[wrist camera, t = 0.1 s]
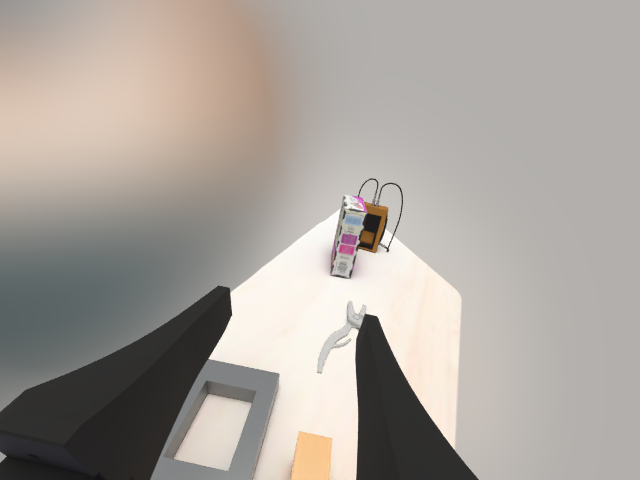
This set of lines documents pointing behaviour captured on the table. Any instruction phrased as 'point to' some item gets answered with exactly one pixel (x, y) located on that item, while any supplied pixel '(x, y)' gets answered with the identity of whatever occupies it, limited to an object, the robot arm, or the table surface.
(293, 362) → the table surface
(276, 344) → the table surface
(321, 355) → the pliers
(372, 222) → the multimeter
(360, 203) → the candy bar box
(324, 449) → the orange plug
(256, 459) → the grey two-slot frame
